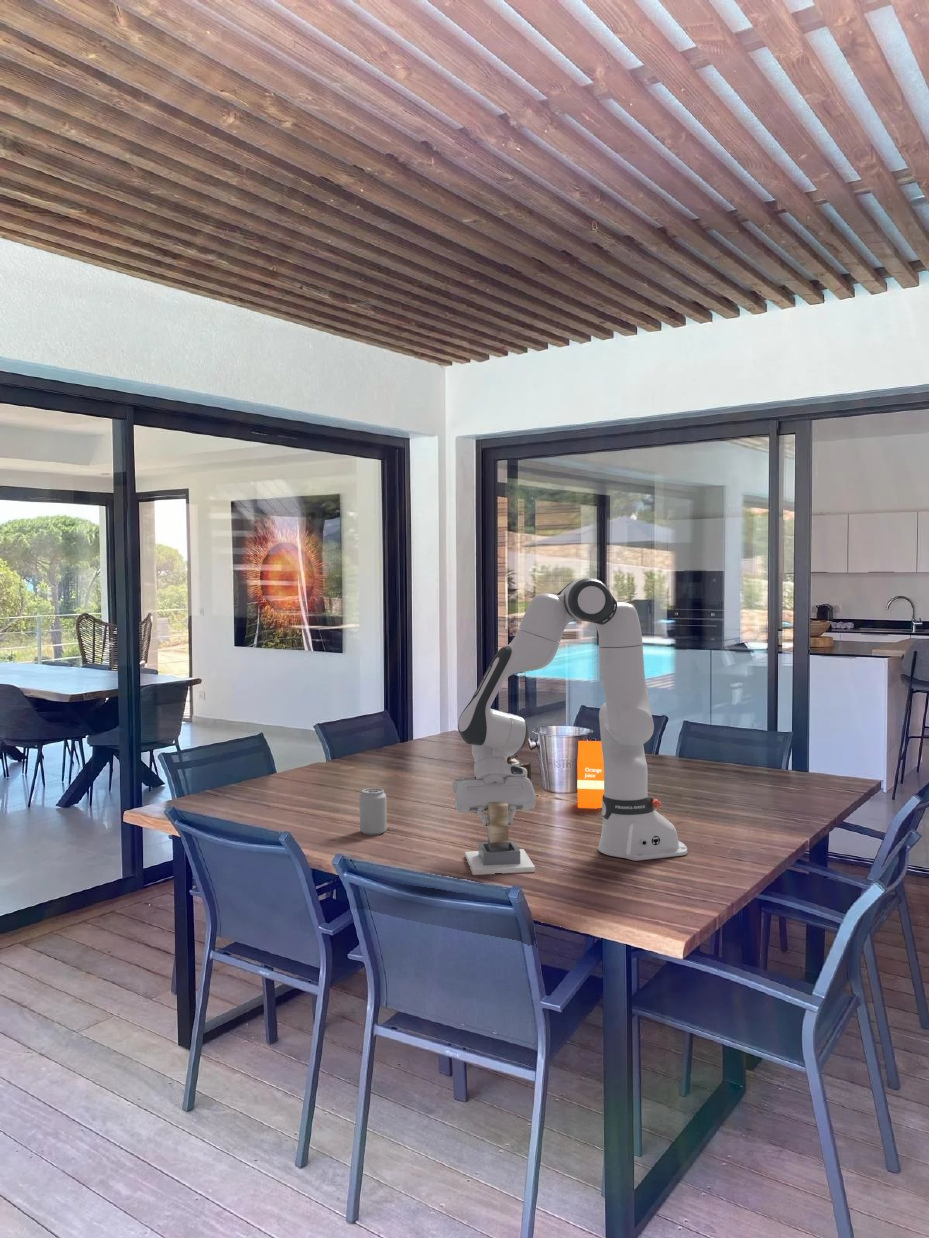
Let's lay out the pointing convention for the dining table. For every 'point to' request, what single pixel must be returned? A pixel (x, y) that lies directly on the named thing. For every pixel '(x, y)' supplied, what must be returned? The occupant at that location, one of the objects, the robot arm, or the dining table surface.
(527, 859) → the dock
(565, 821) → the dining table surface
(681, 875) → the dining table surface
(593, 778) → the orange juice
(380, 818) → the can
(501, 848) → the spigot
